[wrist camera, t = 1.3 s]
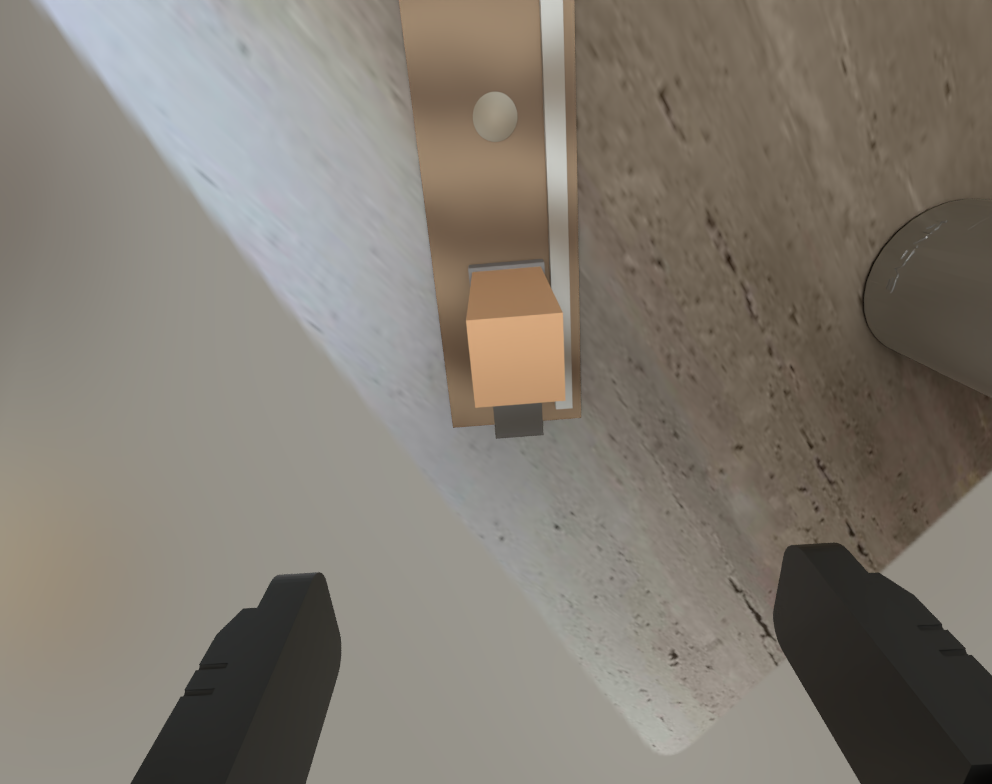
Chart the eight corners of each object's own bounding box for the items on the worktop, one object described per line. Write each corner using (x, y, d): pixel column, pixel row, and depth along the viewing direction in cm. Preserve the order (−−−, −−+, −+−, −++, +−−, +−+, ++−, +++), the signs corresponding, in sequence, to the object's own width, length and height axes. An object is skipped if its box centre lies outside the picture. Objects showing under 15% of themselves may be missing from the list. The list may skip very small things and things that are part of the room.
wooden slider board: (397, -41, 25) (369, -102, 19) (568, -57, 25) (593, -125, 19) (454, 416, 35) (447, 471, 29) (577, 407, 34) (596, 459, 29)
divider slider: (468, 265, 29) (460, 315, 20) (542, 258, 29) (568, 306, 20) (475, 335, 30) (470, 412, 21) (545, 329, 30) (570, 405, 21)
